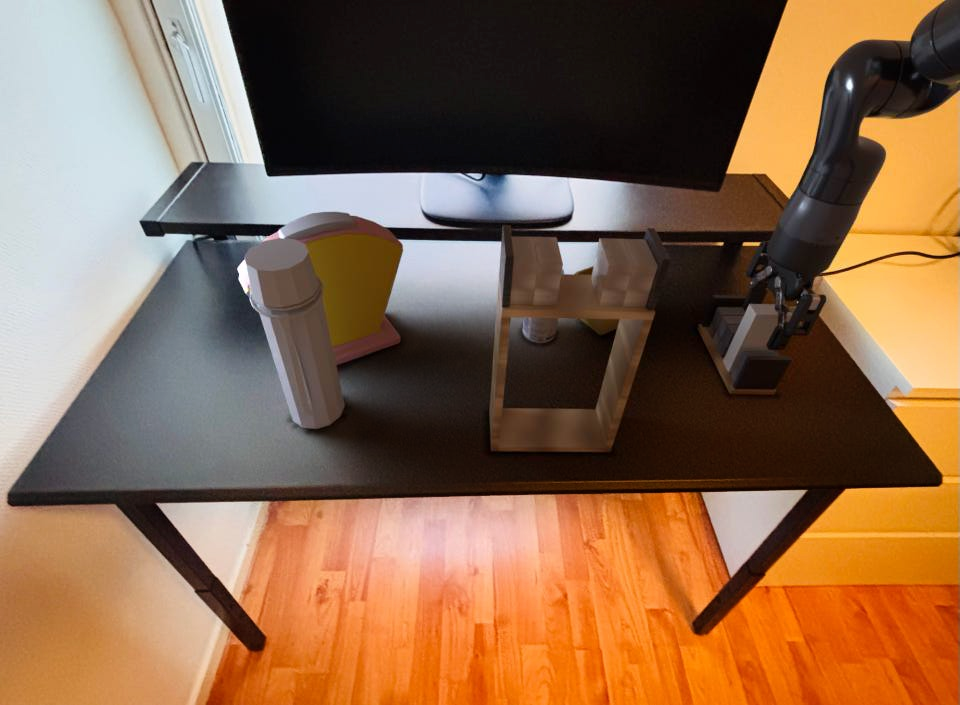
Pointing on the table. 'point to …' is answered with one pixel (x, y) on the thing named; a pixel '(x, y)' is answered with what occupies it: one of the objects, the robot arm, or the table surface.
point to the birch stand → (566, 425)
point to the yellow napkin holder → (348, 278)
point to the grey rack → (753, 367)
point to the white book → (753, 332)
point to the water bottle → (296, 329)
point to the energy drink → (540, 328)
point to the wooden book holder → (581, 279)
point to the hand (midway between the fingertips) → (761, 328)
